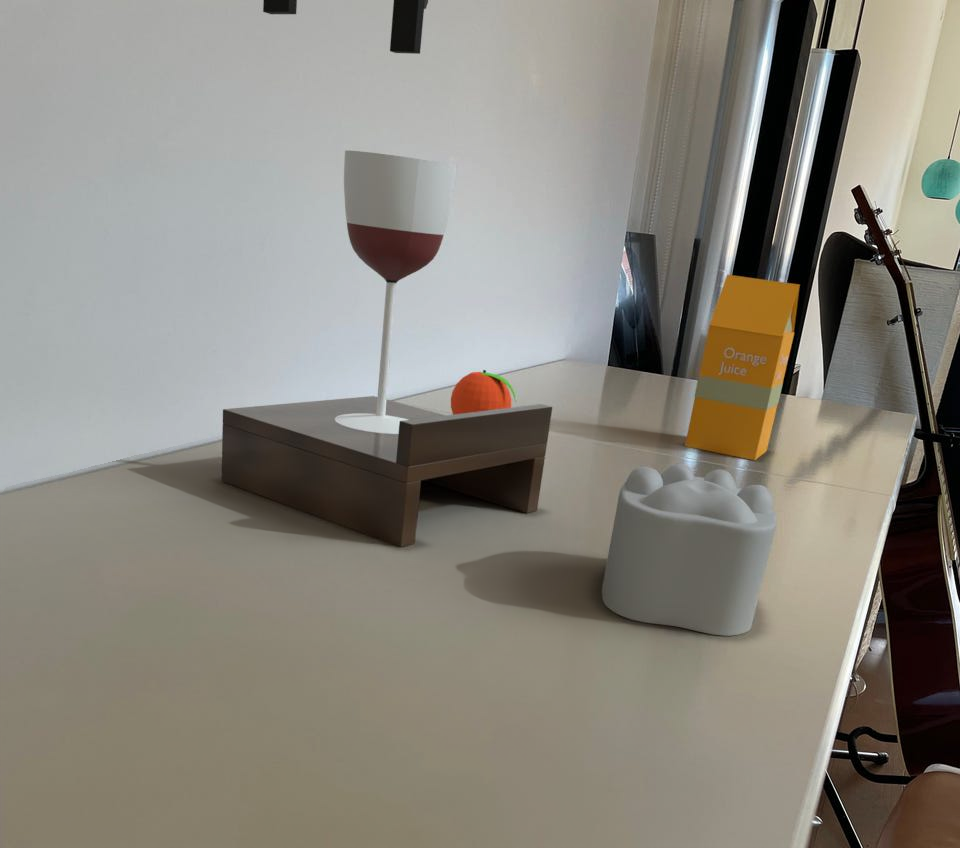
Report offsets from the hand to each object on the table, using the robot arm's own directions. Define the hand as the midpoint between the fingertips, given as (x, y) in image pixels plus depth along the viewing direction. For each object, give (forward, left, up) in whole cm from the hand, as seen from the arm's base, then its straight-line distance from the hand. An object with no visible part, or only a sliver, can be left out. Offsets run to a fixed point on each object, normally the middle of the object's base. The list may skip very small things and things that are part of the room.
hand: (346, 34), depth 77 cm
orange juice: (+16, +54, -35) cm, 66 cm away
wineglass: (+8, -2, -29) cm, 30 cm away
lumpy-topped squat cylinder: (+37, -2, -35) cm, 51 cm away
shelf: (+9, -2, -34) cm, 36 cm away
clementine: (-3, +28, -35) cm, 45 cm away
